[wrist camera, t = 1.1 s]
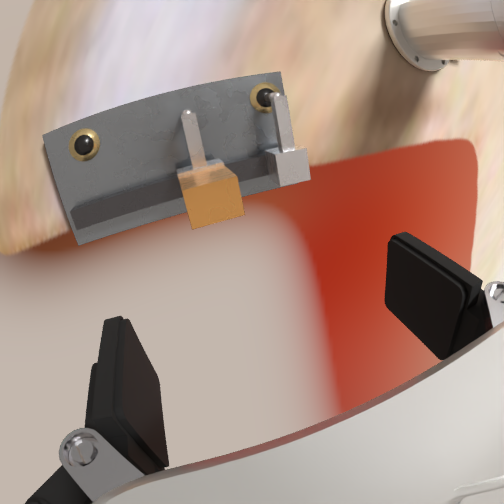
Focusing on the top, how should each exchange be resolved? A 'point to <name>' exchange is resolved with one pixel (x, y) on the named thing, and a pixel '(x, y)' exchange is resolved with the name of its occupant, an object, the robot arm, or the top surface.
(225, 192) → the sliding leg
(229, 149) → the base
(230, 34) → the top surface
